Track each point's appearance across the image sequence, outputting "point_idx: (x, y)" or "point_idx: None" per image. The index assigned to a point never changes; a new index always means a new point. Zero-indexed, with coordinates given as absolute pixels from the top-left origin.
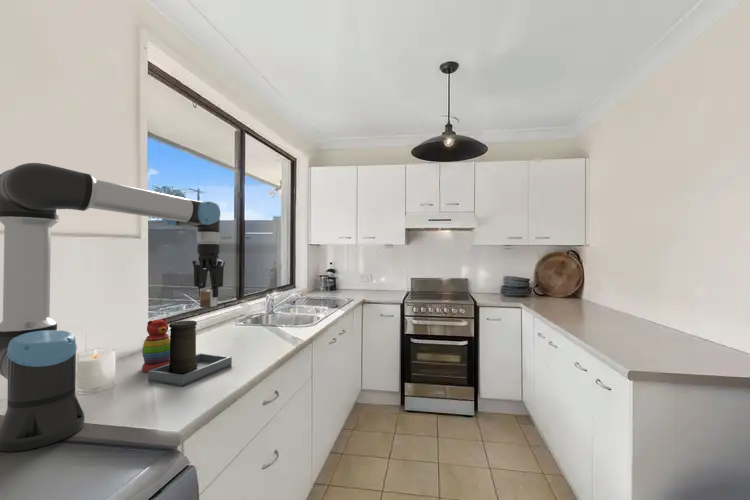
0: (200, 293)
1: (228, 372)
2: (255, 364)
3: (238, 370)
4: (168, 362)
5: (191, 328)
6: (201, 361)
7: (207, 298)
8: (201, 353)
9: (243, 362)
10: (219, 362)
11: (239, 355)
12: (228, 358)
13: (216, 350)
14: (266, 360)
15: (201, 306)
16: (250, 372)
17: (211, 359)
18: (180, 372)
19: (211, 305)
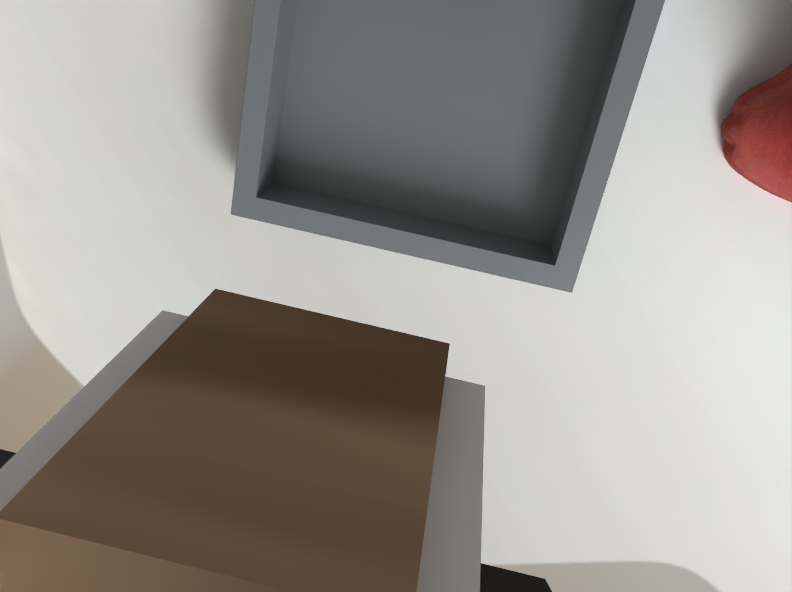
0: (419, 557)
1: (186, 47)
2: (106, 252)
3: (142, 104)
4: (785, 105)
5: None
6: (535, 234)
7: (172, 398)
8: (557, 282)
9: (221, 288)
10: (249, 69)
11: None
12: (235, 176)
13: (604, 545)
14: (86, 346)
15: (420, 346)
16: (27, 71)
17: (434, 227)
18: None
19: (149, 323)
